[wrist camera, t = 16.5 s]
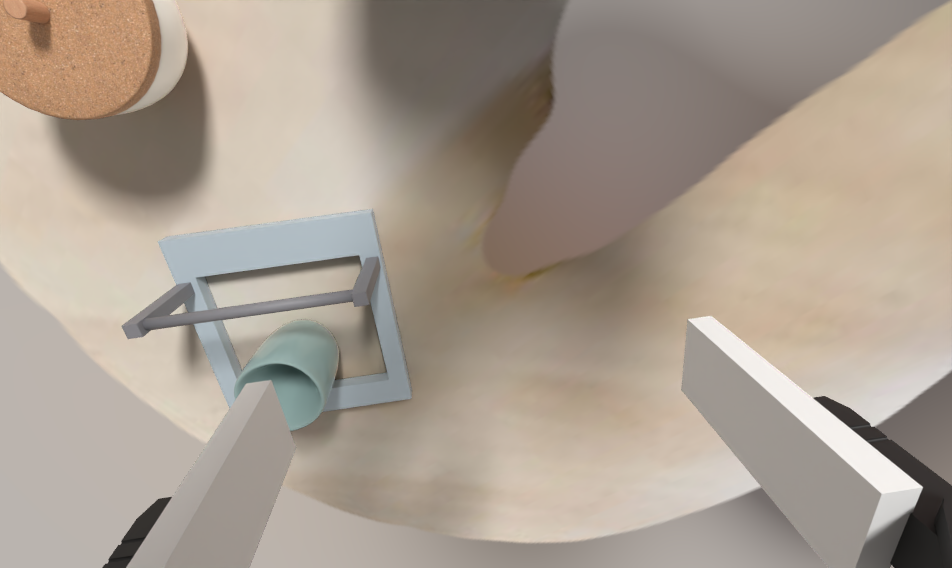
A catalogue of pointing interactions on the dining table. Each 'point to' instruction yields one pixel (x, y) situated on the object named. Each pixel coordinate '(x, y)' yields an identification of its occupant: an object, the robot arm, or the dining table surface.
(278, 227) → the towel rail frame
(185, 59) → the lidded bowl
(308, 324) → the cup
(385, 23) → the dining table surface
